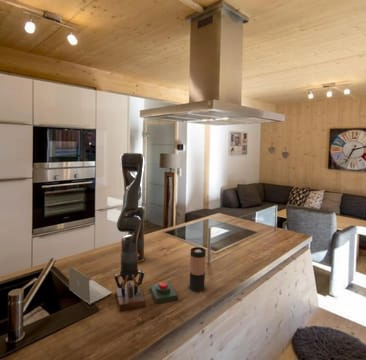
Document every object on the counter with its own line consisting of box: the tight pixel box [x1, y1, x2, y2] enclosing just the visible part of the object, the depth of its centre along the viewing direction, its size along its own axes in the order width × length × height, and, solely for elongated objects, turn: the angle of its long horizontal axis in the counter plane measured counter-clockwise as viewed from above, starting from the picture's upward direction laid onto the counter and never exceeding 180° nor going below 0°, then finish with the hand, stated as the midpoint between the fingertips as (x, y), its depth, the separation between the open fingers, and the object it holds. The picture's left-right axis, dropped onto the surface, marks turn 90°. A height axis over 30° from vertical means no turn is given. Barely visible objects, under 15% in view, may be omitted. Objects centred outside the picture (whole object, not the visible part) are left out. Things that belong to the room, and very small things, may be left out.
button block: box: [149, 282, 178, 304], centre depth 135 cm, size 12×10×4 cm
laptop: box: [68, 265, 113, 305], centre depth 135 cm, size 18×12×13 cm
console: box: [115, 285, 146, 312], centre depth 130 cm, size 14×11×3 cm
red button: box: [159, 281, 168, 289], centre depth 134 cm, size 4×4×2 cm
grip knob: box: [126, 281, 133, 298], centre depth 129 cm, size 6×2×5 cm, turn 19°
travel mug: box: [189, 246, 207, 292], centre depth 140 cm, size 8×8×20 cm
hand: (129, 293), depth 129 cm, fingers closed on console, 4 cm apart
